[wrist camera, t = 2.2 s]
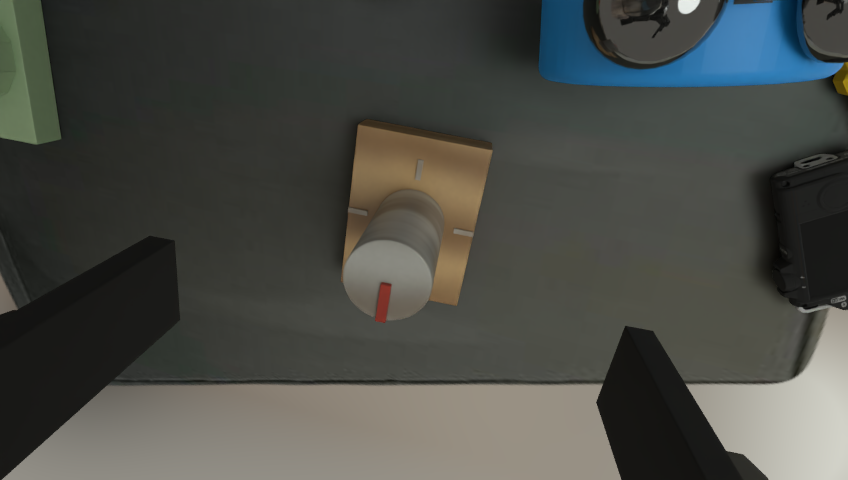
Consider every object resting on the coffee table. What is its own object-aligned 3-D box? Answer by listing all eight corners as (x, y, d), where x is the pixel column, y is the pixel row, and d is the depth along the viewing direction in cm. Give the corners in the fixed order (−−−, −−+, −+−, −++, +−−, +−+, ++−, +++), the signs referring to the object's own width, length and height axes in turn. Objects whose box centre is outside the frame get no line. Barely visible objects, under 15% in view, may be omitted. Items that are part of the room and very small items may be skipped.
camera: (748, 178, 31) (772, 310, 35) (776, 189, 29) (798, 331, 32) (851, 141, 30) (863, 281, 34) (889, 149, 27) (898, 301, 31)
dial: (381, 182, 32) (345, 233, 23) (450, 196, 32) (439, 252, 23) (373, 245, 34) (336, 313, 25) (437, 258, 34) (423, 331, 25)
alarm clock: (527, 72, 30) (564, 97, 17) (531, -36, 28) (580, -112, 14) (742, 65, 29) (978, 85, 15) (766, -51, 26) (1073, -151, 13)
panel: (366, 118, 33) (357, 124, 30) (492, 142, 32) (493, 150, 30) (349, 267, 38) (339, 283, 35) (458, 290, 37) (456, 307, 35)
